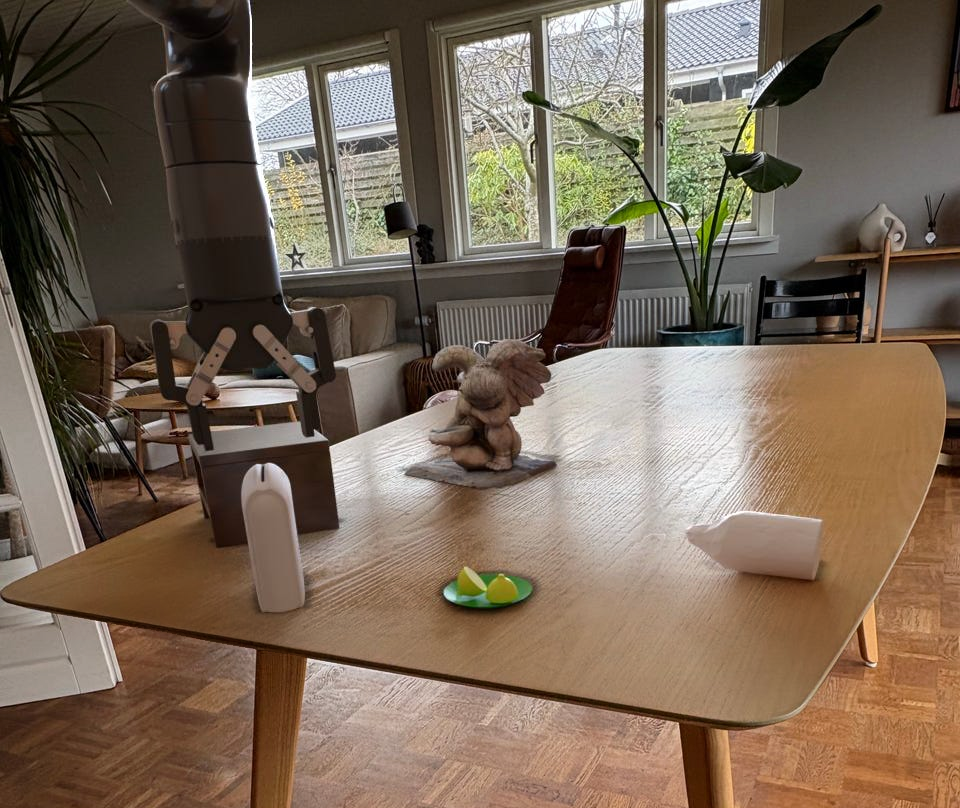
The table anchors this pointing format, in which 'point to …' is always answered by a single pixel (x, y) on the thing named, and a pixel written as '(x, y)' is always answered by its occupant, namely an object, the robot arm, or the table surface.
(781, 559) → the white plastic bottle
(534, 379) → the cherub figurine
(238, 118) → the robot arm
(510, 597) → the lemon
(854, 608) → the table surface
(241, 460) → the box
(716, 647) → the table surface
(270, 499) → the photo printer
